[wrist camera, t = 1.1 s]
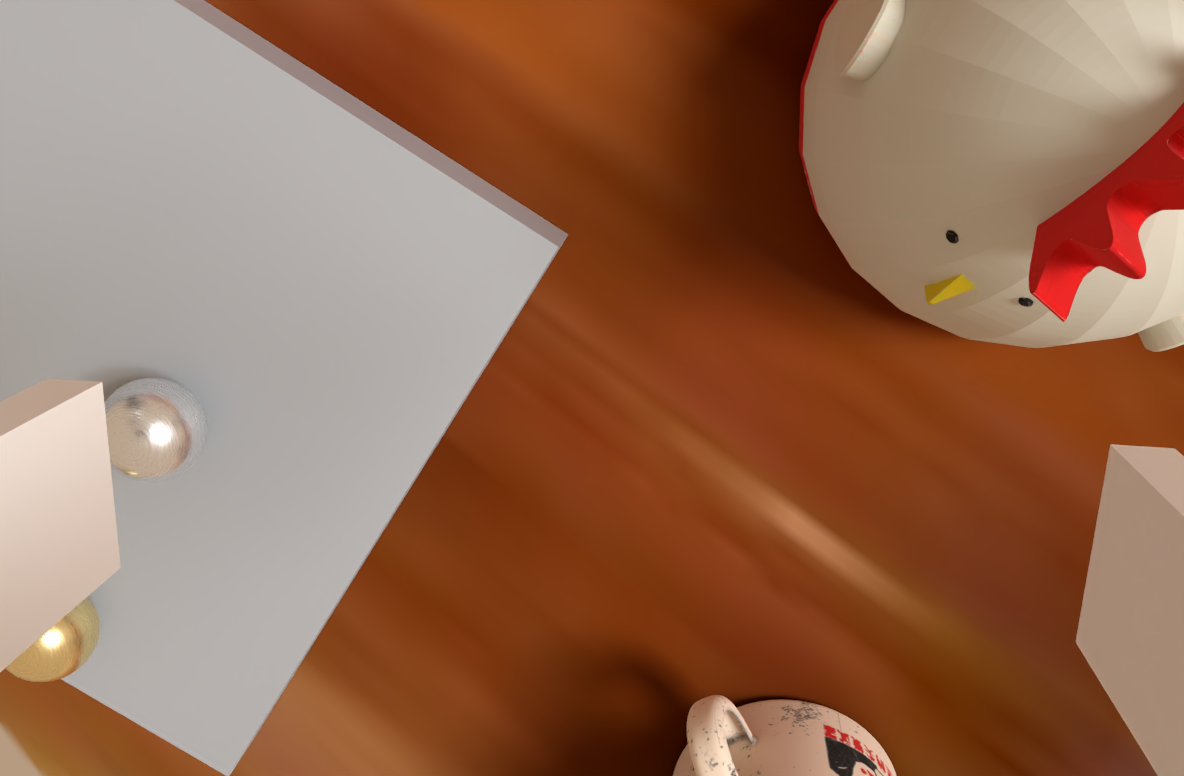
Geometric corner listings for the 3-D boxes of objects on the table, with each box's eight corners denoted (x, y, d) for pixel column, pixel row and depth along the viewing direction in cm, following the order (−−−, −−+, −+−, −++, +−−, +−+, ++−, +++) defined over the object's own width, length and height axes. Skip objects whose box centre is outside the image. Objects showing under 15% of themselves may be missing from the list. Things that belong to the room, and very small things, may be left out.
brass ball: (15, 618, 41) (-45, 667, 38) (50, 549, 40) (-8, 592, 37) (95, 666, 41) (43, 718, 38) (133, 598, 40) (82, 646, 37)
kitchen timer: (708, 139, 36) (707, 199, 22) (1025, -235, 32) (1277, -463, 18) (1020, 410, 38) (1210, 631, 23) (1358, 84, 34) (1838, 110, 19)
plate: (-383, 362, 42) (-448, 381, 40) (-180, -247, 35) (-244, -268, 33) (254, 738, 44) (228, 776, 42) (568, 234, 37) (558, 247, 35)
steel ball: (112, 426, 38) (57, 461, 35) (153, 346, 37) (100, 374, 34) (199, 478, 39) (152, 517, 35) (241, 400, 38) (197, 433, 34)
